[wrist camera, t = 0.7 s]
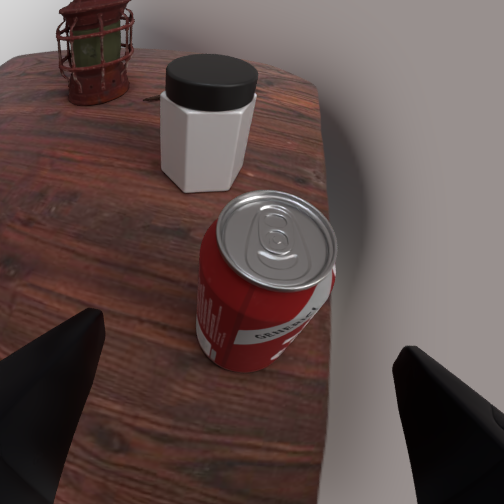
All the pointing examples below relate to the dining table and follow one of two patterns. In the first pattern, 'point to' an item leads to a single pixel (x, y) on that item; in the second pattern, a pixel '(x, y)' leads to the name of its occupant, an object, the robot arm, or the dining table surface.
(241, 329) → the soda can
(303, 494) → the dining table surface
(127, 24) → the lantern
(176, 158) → the jar
